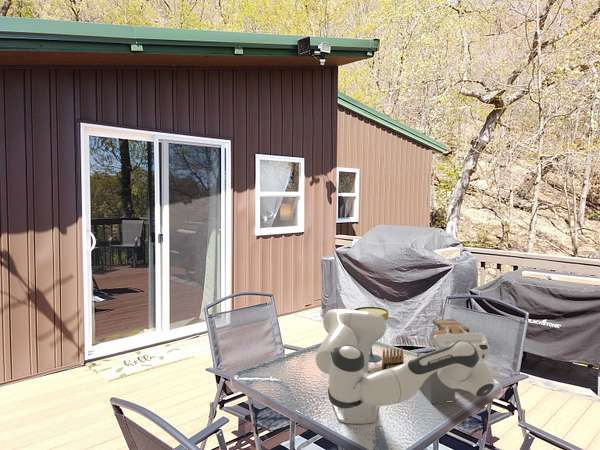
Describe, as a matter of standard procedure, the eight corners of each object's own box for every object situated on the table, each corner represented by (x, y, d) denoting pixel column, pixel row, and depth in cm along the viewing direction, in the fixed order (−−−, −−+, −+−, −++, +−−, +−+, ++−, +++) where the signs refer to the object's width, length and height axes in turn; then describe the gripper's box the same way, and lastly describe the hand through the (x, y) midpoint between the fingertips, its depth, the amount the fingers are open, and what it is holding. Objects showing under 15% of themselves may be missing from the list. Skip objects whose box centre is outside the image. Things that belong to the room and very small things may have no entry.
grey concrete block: (454, 401, 186) (454, 365, 185) (431, 403, 185) (430, 367, 184) (439, 385, 202) (439, 352, 201) (417, 387, 201) (417, 353, 200)
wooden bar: (460, 333, 177) (458, 325, 178) (452, 333, 177) (451, 326, 178) (437, 340, 199) (436, 333, 200) (431, 340, 199) (430, 333, 200)
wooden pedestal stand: (471, 387, 199) (471, 328, 198) (444, 388, 198) (444, 330, 197) (455, 373, 215) (455, 318, 213) (431, 374, 214) (430, 320, 212)
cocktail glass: (348, 354, 243) (347, 308, 242) (378, 350, 249) (378, 305, 247) (362, 366, 226) (362, 316, 225) (395, 361, 232) (394, 313, 230)
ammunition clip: (402, 370, 220) (402, 346, 219) (404, 372, 218) (404, 347, 217) (381, 372, 218) (381, 348, 217) (382, 374, 216) (382, 349, 215)
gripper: (438, 362, 169) (425, 334, 181) (490, 359, 171) (475, 331, 183) (441, 350, 166) (428, 323, 177) (495, 347, 168) (478, 320, 179)
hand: (452, 327), depth 180 cm, fingers open, 3 cm apart
